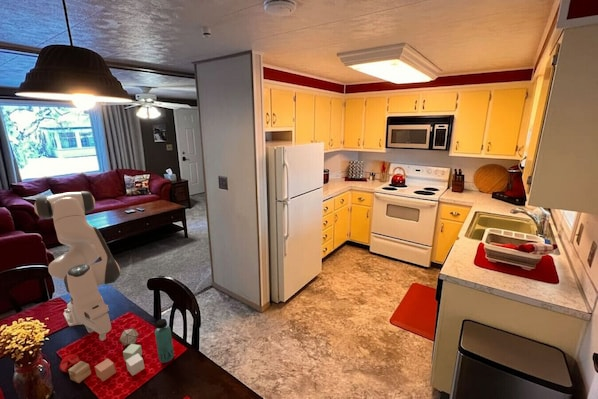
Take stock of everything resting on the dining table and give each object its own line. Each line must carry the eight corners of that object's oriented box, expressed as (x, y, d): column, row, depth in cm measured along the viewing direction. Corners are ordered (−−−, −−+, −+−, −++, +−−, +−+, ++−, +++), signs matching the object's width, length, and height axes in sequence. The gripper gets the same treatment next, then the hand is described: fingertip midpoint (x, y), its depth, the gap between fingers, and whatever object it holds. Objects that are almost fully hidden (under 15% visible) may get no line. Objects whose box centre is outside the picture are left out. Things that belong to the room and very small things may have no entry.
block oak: (70, 379, 120) (68, 369, 119) (83, 370, 125) (80, 360, 124) (78, 383, 119) (76, 373, 117) (91, 373, 123) (88, 364, 122)
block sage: (124, 361, 129) (122, 352, 128) (132, 352, 134) (131, 343, 133) (134, 363, 128) (132, 353, 127) (142, 354, 133) (140, 345, 132)
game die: (132, 352, 139) (127, 348, 131) (117, 345, 139) (111, 339, 132) (145, 334, 144) (141, 328, 137) (130, 326, 145) (125, 321, 137)
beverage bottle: (159, 368, 126) (153, 328, 120) (158, 357, 131) (152, 319, 126) (175, 362, 129) (170, 323, 123) (174, 352, 134) (168, 314, 129)
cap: (84, 359, 126) (78, 347, 129) (68, 365, 121) (63, 352, 123) (76, 371, 128) (70, 359, 130) (60, 377, 123) (55, 365, 125)
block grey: (127, 369, 125) (125, 360, 124) (139, 362, 129) (137, 353, 127) (132, 376, 122) (130, 366, 120) (144, 368, 126) (143, 358, 124)
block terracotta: (96, 376, 122) (94, 366, 120) (109, 367, 126) (107, 358, 125) (103, 381, 119) (100, 371, 118) (115, 372, 123) (113, 363, 122)
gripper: (67, 302, 117) (76, 331, 121) (92, 317, 107) (101, 349, 110) (84, 294, 122) (92, 322, 126) (110, 308, 112) (118, 338, 115)
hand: (96, 335), depth 118 cm, fingers open, 8 cm apart
